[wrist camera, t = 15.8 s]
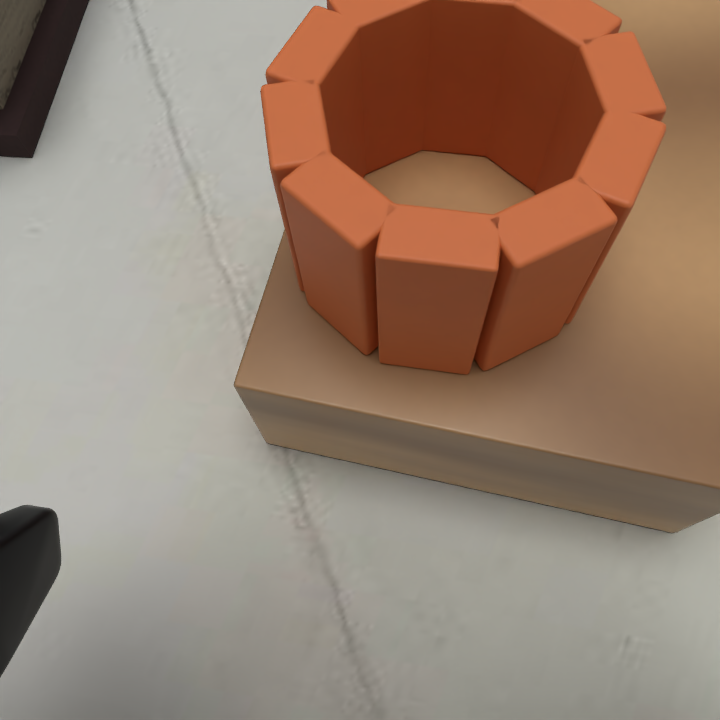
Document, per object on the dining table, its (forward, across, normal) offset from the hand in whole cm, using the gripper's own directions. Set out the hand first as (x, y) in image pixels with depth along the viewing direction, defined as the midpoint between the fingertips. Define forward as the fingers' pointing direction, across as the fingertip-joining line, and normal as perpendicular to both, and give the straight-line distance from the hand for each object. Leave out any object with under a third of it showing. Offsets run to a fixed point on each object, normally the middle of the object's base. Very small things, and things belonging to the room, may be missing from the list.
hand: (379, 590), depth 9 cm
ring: (+8, 0, -3) cm, 8 cm away
